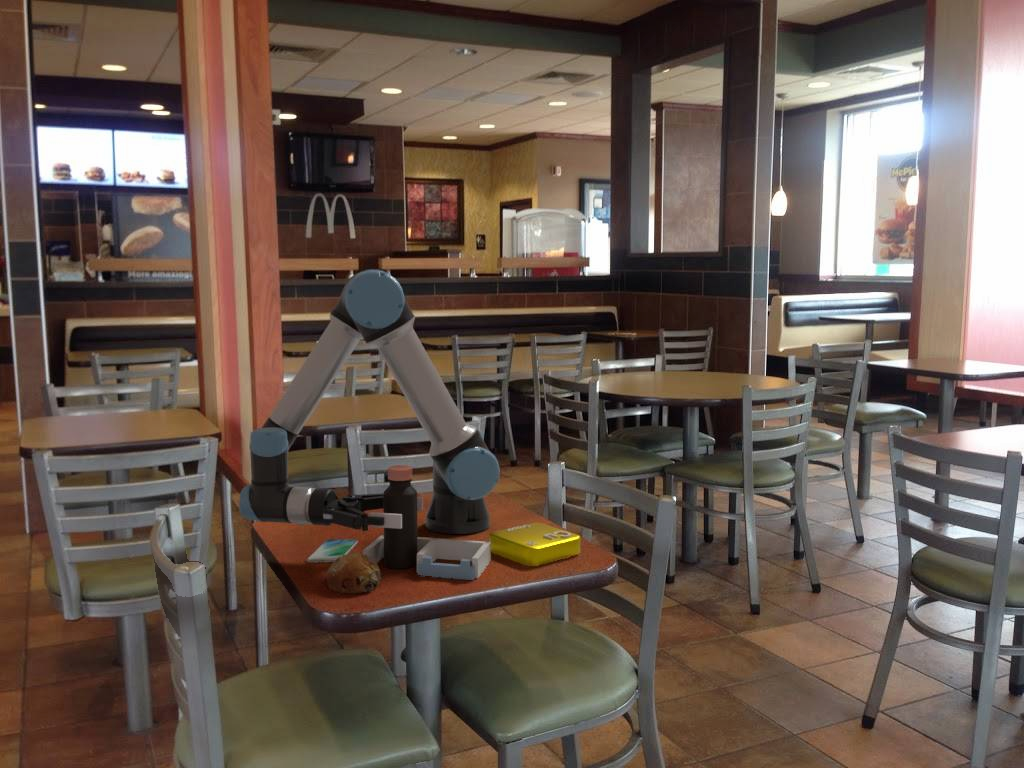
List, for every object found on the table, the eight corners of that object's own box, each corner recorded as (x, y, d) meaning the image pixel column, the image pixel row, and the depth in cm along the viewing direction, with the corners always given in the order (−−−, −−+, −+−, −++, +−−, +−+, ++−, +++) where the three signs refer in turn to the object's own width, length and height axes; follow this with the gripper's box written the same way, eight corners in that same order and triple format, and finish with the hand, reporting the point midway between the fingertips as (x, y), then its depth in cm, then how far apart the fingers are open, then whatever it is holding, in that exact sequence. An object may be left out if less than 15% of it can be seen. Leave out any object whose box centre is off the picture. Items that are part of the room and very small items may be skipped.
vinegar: (391, 557, 186) (390, 463, 183) (422, 560, 184) (421, 465, 182) (378, 567, 179) (377, 470, 177) (410, 570, 178) (409, 472, 175)
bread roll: (374, 594, 175) (368, 554, 177) (391, 587, 166) (384, 544, 168) (324, 603, 170) (319, 561, 172) (339, 596, 161) (333, 552, 163)
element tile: (537, 539, 201) (537, 519, 200) (584, 555, 190) (584, 534, 189) (485, 552, 191) (485, 530, 191) (531, 570, 180) (531, 547, 179)
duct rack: (382, 552, 189) (382, 534, 189) (490, 560, 184) (490, 541, 184) (360, 571, 177) (360, 551, 176) (476, 580, 172) (476, 560, 172)
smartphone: (304, 560, 183) (326, 539, 197) (305, 564, 183) (326, 542, 198) (339, 560, 182) (358, 539, 197) (339, 564, 182) (358, 543, 197)
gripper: (337, 509, 197) (430, 514, 192) (287, 541, 172) (391, 548, 168) (337, 475, 196) (430, 480, 192) (286, 503, 172) (391, 509, 167)
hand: (412, 512), depth 180 cm, fingers open, 13 cm apart
